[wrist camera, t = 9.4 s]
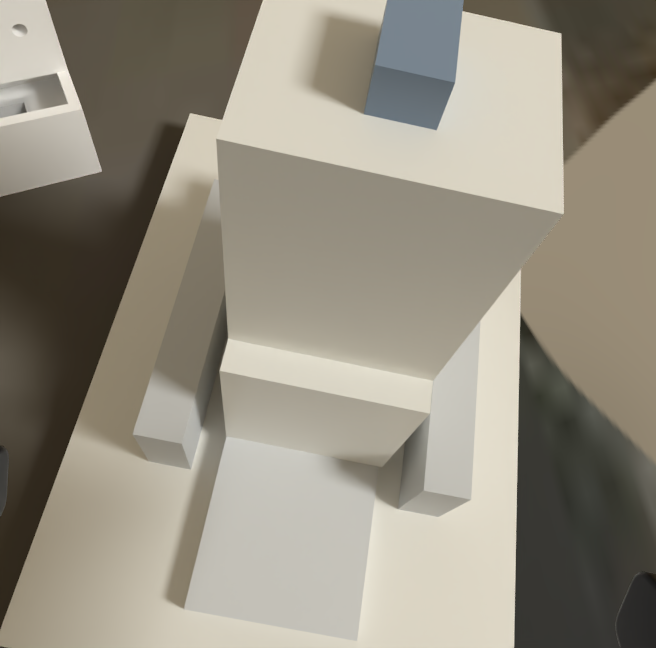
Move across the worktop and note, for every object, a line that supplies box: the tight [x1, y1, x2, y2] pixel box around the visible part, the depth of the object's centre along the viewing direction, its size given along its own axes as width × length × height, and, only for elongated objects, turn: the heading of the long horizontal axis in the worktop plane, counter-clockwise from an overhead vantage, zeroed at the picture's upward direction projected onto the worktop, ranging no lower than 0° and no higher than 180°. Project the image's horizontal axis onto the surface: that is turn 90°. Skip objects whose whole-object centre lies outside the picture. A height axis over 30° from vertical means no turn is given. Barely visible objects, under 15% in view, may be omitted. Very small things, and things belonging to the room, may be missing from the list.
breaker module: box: [216, 0, 564, 467], centre depth 13 cm, size 5×4×12 cm
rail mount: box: [0, 113, 521, 648], centre depth 18 cm, size 18×13×4 cm
